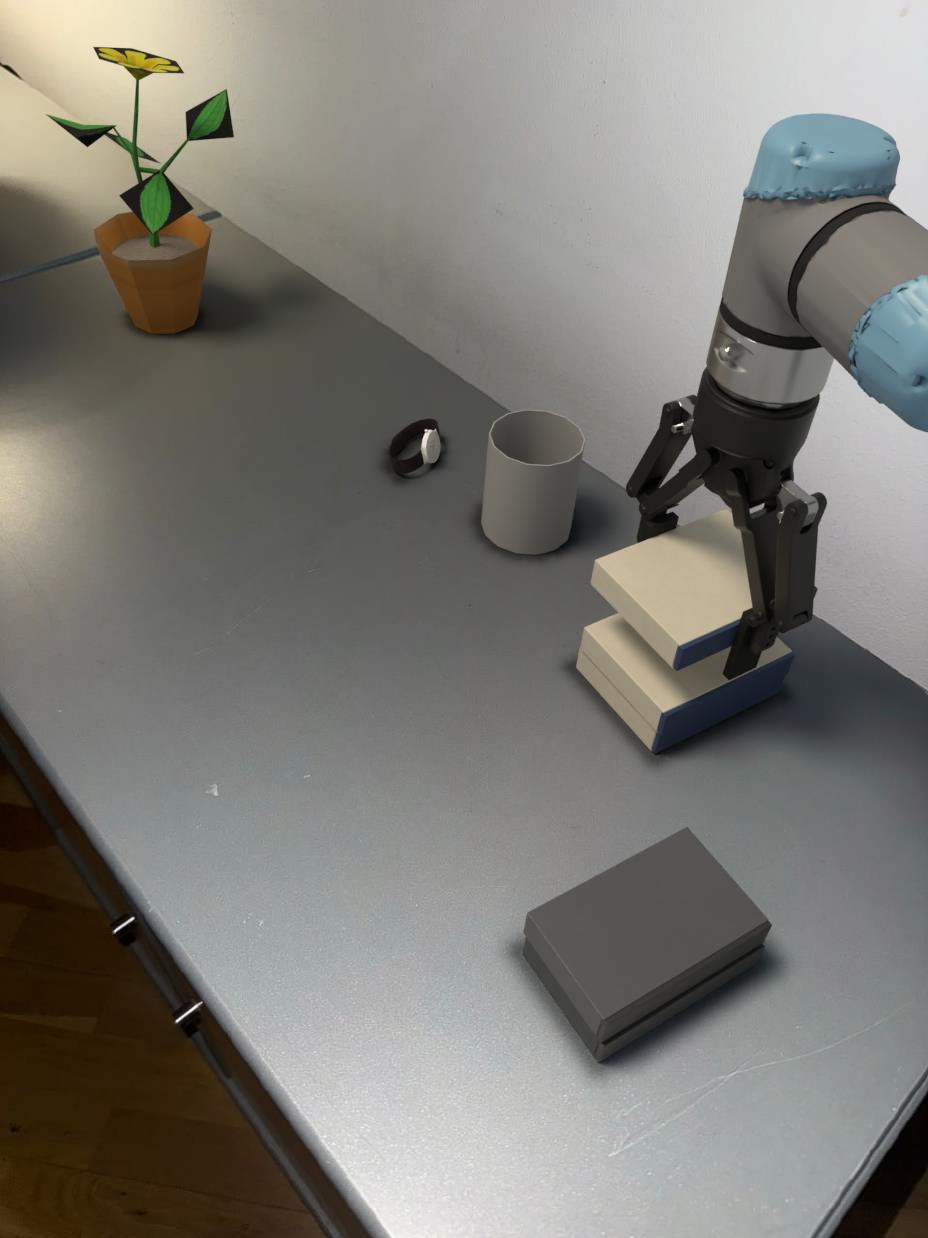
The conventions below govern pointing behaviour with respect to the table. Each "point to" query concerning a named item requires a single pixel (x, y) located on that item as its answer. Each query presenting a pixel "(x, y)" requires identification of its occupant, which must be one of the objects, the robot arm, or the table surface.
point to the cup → (531, 481)
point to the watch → (428, 447)
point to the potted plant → (156, 213)
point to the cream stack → (671, 683)
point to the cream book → (681, 588)
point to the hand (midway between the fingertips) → (691, 624)
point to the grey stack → (643, 941)
